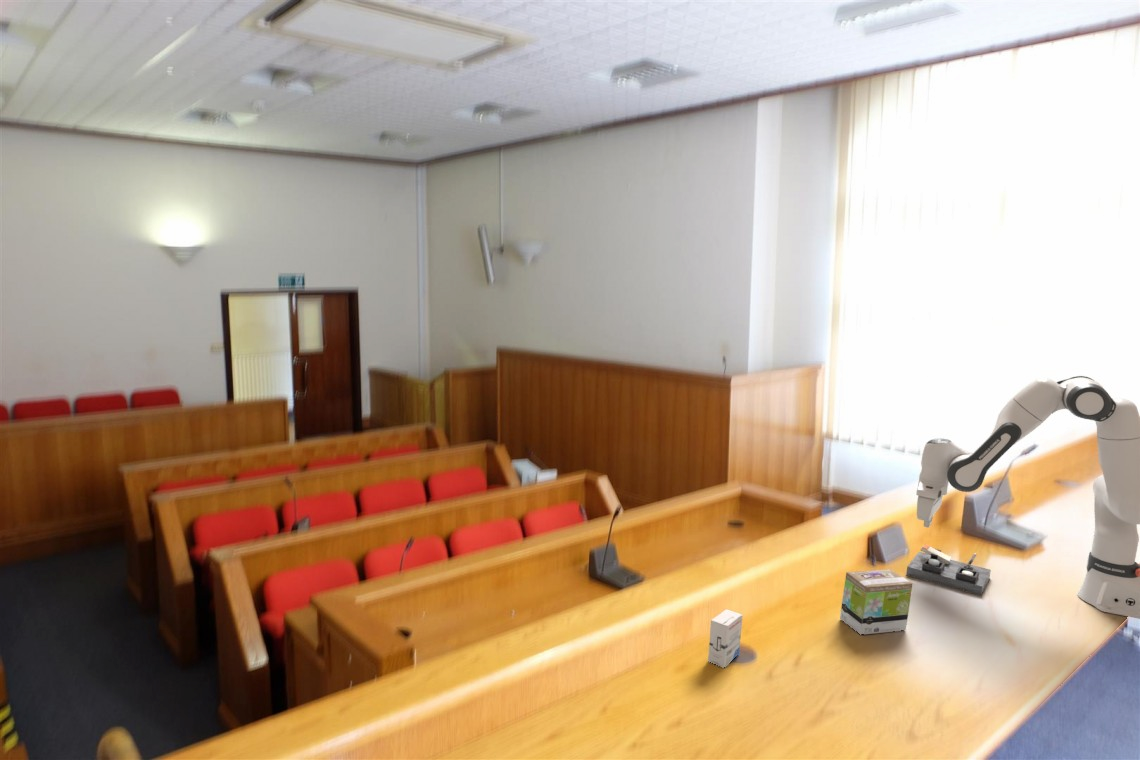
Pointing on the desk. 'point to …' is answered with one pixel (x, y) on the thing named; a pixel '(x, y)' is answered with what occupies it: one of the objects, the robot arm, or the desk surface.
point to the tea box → (876, 601)
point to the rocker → (936, 553)
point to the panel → (949, 573)
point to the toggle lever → (971, 560)
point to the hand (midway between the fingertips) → (927, 525)
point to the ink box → (725, 638)
